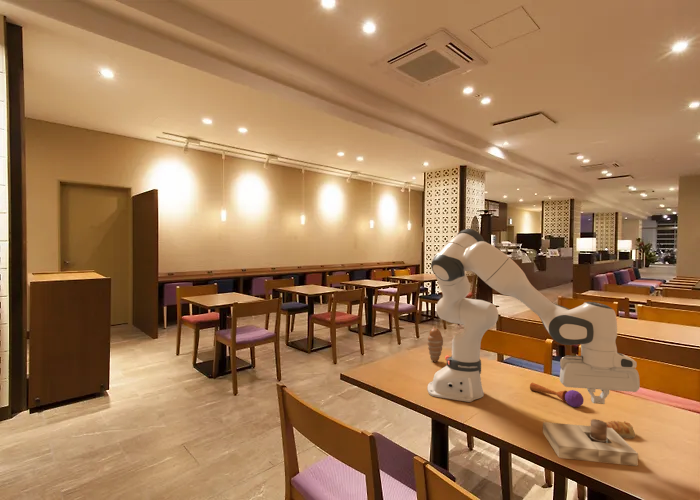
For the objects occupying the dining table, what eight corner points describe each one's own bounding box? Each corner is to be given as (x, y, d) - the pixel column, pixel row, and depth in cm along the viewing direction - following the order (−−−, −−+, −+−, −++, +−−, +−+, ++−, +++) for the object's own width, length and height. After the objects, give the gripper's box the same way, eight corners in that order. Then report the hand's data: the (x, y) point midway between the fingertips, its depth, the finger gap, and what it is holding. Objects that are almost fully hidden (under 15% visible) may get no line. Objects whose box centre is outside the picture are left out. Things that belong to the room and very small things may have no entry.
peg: (592, 451, 107) (593, 425, 107) (587, 444, 111) (588, 418, 111) (608, 453, 106) (609, 427, 106) (603, 446, 110) (604, 420, 110)
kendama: (536, 379, 154) (586, 392, 136) (536, 393, 153) (586, 409, 135) (528, 379, 151) (578, 392, 133) (527, 394, 150) (577, 409, 133)
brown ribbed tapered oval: (446, 363, 184) (446, 328, 184) (431, 365, 183) (431, 329, 182) (437, 358, 193) (437, 324, 193) (424, 359, 191) (424, 325, 191)
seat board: (558, 457, 104) (559, 445, 104) (542, 432, 118) (542, 421, 118) (637, 465, 100) (637, 453, 100) (611, 438, 114) (611, 428, 114)
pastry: (605, 437, 115) (605, 425, 115) (593, 427, 122) (594, 415, 122) (637, 440, 114) (637, 427, 114) (624, 429, 120) (624, 417, 120)
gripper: (564, 358, 107) (563, 404, 107) (643, 362, 103) (642, 410, 103) (556, 351, 113) (555, 395, 113) (630, 355, 109) (630, 401, 109)
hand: (597, 403), depth 108 cm, fingers closed
